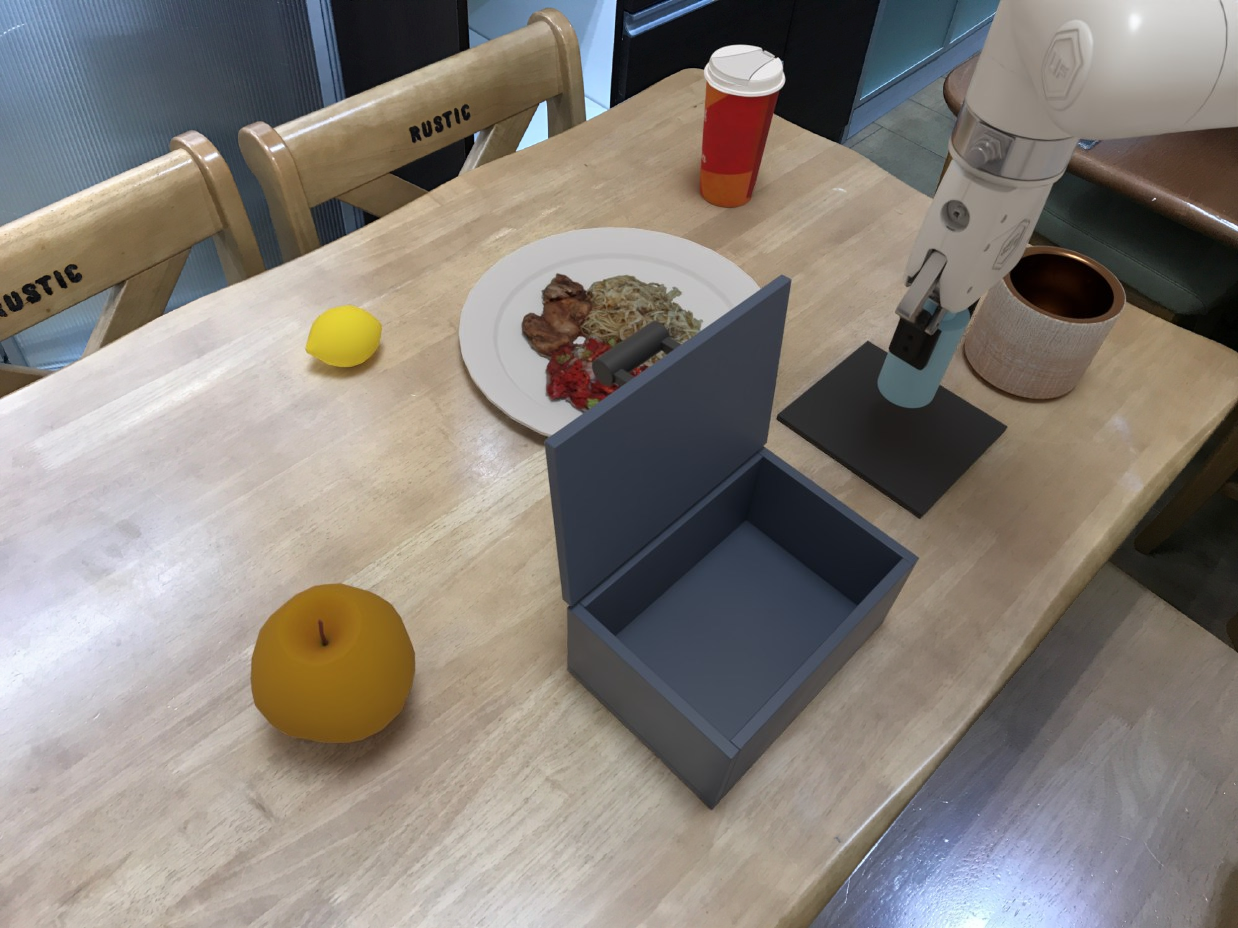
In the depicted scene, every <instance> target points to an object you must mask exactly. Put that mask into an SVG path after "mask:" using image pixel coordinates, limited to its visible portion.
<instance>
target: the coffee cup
mask: <svg viewBox="0 0 1238 928" xmlns="http://www.w3.org/2000/svg"><path fill="white" fill-rule="evenodd" d="M775 56H776V55H774V54H772V53H771V52H769V51H767V50H763V48H762V47H759V46H755V45H748V44H732V45H726V46H723V47H720V48H719V49H716V50H715V51H714V52H712V54H711V56H710V58H709V61H708V62H707V64H706V65H705V66H704V69H703V76H704V78H705V80H706V81H705V82H706V85H705V98H704V113H703V126H702V141H701V155H700V169H699V170H700V172H699V173H700V174H699V175H700V177H699V193H700V195H701V197H702V198H703V200H705V201H707V202H708V203H709V204H712V205H714V206H717V207H721V208H737V207H741V206H744V205H746V204H747V203H748V202H749V201H750V200H751V198H752V196H753V193H754V190H755V187H756V184H757V179H758V176H759V173H760V172H759V171H760V168H761V163H762V160H763V158H764V157H763V156H764V152H765V149H766V145H767V141H768V136H769V133H770V128H771V124H772V121H773V117H774V114H775V109H776V106H777V101H778V98H779V94H780V90H781V89H782V88H783V87H784V85H785V82H786V76H785V72H784V66H783V62H782V60H781V59H780V58H779V57H775Z"/></svg>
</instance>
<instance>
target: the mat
mask: <svg viewBox="0 0 1238 928" xmlns="http://www.w3.org/2000/svg"><path fill="white" fill-rule="evenodd" d="M887 354H888V351H886V350H885V349H883V348H881V347H879V346H877V345H876V344H875V343H873V342H871V341H870V340H867V341H865V342H864V343H863V344H862V345H860V346H859V347H858V348H857V349H855V350H854V351H853V352H851V354H849V355H848V356H847V357H845V358H844V359H843V360H841V362H839V363H838V364H837V365H835V367H834V368H832V369H831V370H830V371H829V372H827V373H826V374H824V376H823V377H821V378H820V379H818V380H817V381H816V382H814V384H813V385H811V386H810V387H809V388H808V389H806V391H804V392H803V393H802V394H800V395H799V396H798V397H797V398H795V399H794V400H793V401H792V402H791V403H789V404H788V405H787V406H785V408H783V409H782V410H781V411H780V412H779V413H777V415H776V418H775V419H776V420H777V421H779V422H780V423H781V424H782V425H785V426H786V427H787V428H789V429H790V430H792V431H793V432H795V433H796V434H797V435H799V436H800V437H802V438H803V439H805V440H806V441H808V443H811V444H812V445H813V446H815V447H816V448H818V449H819V450H820V451H822V452H823V453H824V454H826V455H828V456H829V457H830V458H832V459H833V460H835V461H836V462H838V463H839V464H840V465H842V466H843V467H844V468H846V469H848V470H849V471H851V472H852V473H854V474H855V475H856V476H858V477H859V478H861V479H862V480H863V481H864V482H867V483H868V484H869V485H871V486H872V487H874V488H875V489H876V490H878V491H879V492H881V493H882V494H883V495H885V496H887V497H888V498H889V499H890V500H892V501H894V502H895V503H897V504H898V505H899V506H901V507H902V508H904V509H905V510H907V511H908V512H910V514H912V515H914V516H915V517H917V518H918V519H922V517H924V516H925V514H926V513H928V511H929V510H931V508H932V507H933V506H934V505H935V504H936V503H937V502H938V501H940V499H941V498H942V497H943V496H944V495H945V494H946V493H947V492H948V491H949V489H951V487H953V486H954V484H955V483H956V482H958V480H960V478H961V477H962V476H963V475H964V474H965V473H966V472H967V471H968V470H969V469H970V468H971V467H972V466H973V465H974V464H975V463H976V462H977V461H978V460H979V459H980V457H982V456H983V454H984V453H986V452H987V450H988V449H989V448H990V447H991V446H992V445H993V444H994V443H995V442H996V441H997V440H998V439H999V438H1000V437H1001V436H1002V435H1003V434H1004V433H1005V431H1006V430H1007V429H1008V425H1006V424H1005V423H1003V422H1002V421H1000V420H998V419H997V418H995V417H993V416H992V415H990V414H988V413H986V412H985V411H984V410H982V409H980V408H978V407H977V406H975V404H973V403H970V402H969V401H967V400H966V399H964V398H962V397H961V396H959V395H958V394H956V393H954V392H953V391H951V390H949V389H948V388H947V387H944V386H943V385H941V384H940V385H939V387H938V389H937V391H936V393H935V396H934V398H933V399H932V401H931V402H930V403H929V404H927V405H925V406H923V407H919V408H906V407H902V406H899V405H896V404H894V403H892V402H890V401H889V400H887V399H886V398H885V397H884V396H883V395H882V393H881V392H880V390H879V388H878V378H879V375H880V372H881V370H882V367H883V365H884V362H885V359H886V357H887Z"/></svg>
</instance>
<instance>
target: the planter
mask: <svg viewBox="0 0 1238 928" xmlns="http://www.w3.org/2000/svg"><path fill="white" fill-rule="evenodd" d="M1126 303H1127V295H1126V292H1125V289H1124V287H1123V284H1122V283H1121V282H1120V281H1119V279H1118V278H1117V276H1116V275H1115V274H1114V273H1112V271H1110V269H1108V268H1107V267H1105V266H1104V265H1103V264H1101V263H1100V262H1098V261H1096V260H1095V259H1094V258H1091V257H1089V256H1087V255H1085V254H1082V253H1079V252H1077V251H1074V250H1071V249H1068V248H1064V247H1060V246H1059V247H1058V246H1052V245H1051V246H1050V245H1031V246H1026V249H1025V251H1024V253H1023V255H1022V257H1021V259H1020V260H1019V262H1018V263H1017V264H1016V265H1015V267H1014V268H1013V269H1012V270H1011V271H1010V272H1009V273H1007V274H1006V275H1005V276H1004V277H1003V278H1002V279H1001V280H1000V281H999V282H997V283H996V284H995V285H994V286H993V287H992V288H991V289H989V290H988V291H987V292H986V295H985V297H984V299H983V301H982V303H981V305H980V307H979V308H978V311H977V313H976V315H975V316H974V319H973V320H972V323H971V325H970V327H969V328H968V331H967V333H966V337H965V341H964V353H965V357H966V359H967V361H968V363H969V364H970V366H971V367H972V369H973V370H974V371H975V372H976V373H977V374H978V375H979V376H980V377H981V378H982V379H983V380H984V381H985V382H987V383H989V384H990V385H992V386H993V387H995V388H997V389H998V390H1001V391H1003V392H1005V393H1008V394H1010V395H1013V396H1016V397H1021V398H1025V399H1032V400H1033V399H1034V400H1047V399H1048V400H1049V399H1055V398H1058V397H1061V396H1064V395H1066V394H1068V393H1069V392H1071V391H1072V390H1073V389H1074V388H1075V387H1076V386H1078V384H1079V383H1080V381H1081V380H1082V379H1083V377H1084V375H1085V374H1086V371H1087V370H1088V369H1089V367H1090V365H1091V364H1092V362H1093V360H1094V359H1095V357H1096V355H1097V354H1098V352H1099V351H1100V349H1101V347H1102V346H1103V344H1104V342H1105V340H1106V339H1107V338H1108V336H1109V334H1110V333H1111V331H1112V329H1113V328H1114V326H1115V324H1116V323H1117V321H1118V319H1119V318H1120V317H1121V315H1122V313H1123V311H1124V310H1125V307H1126Z"/></svg>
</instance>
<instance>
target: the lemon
mask: <svg viewBox="0 0 1238 928" xmlns="http://www.w3.org/2000/svg"><path fill="white" fill-rule="evenodd" d="M382 330H383V325H382V323H381V321H380V320H379V319H378V318H376V317H375V316H374V315H373V314H372V313H370V312H369V311H367V310H365V309H364V308H362V307H358V306H355V305H352V304H347V305H341V306H336V307H332V308H328V309H326V310H325V311H324V312H322V313H321V314H319V315H318V316H317V317H316V318H315V320H314V321H312V324H311V326H310V329H309V333H308V335H307V336H308V337H307V341H306V344H305V347H304V349H305V351H306V354H308V355H310V356H312V357H313V358H316V359H317V360H320V361H321V362H323V363H325V364H327V365H328V366H332V367H333V366H334V367H339V368H352V367H355V366H359V365H360V364H363V363H365V362H366V361H367V360H368V359H370V358H371V357H372V355H373V354H374V353H376V351H377V350H378V349H379V345H380V342H381V337H382Z"/></svg>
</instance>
